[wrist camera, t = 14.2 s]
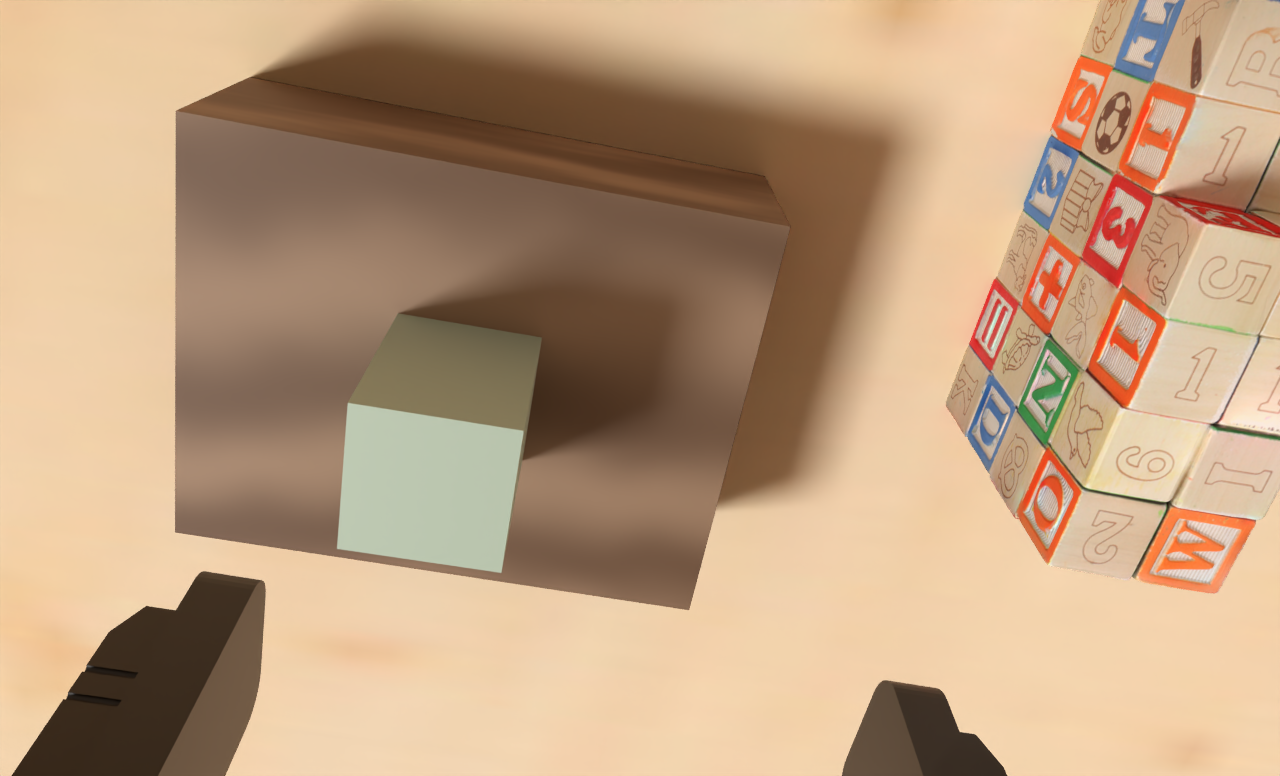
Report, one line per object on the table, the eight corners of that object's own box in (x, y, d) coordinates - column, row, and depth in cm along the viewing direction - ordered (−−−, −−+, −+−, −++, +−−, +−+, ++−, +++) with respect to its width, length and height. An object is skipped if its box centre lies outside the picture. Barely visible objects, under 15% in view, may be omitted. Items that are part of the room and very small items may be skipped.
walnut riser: (250, 77, 38) (175, 111, 32) (764, 176, 40) (790, 226, 34) (238, 444, 45) (175, 532, 39) (680, 515, 47) (689, 610, 41)
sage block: (398, 313, 35) (347, 402, 29) (541, 337, 36) (523, 430, 29) (386, 439, 37) (337, 548, 31) (522, 460, 38) (501, 572, 31)
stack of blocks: (1140, -124, 36) (1369, -137, 25) (1302, -84, 37) (1597, -80, 26) (942, 407, 45) (1046, 572, 34) (1075, 432, 46) (1220, 602, 34)
